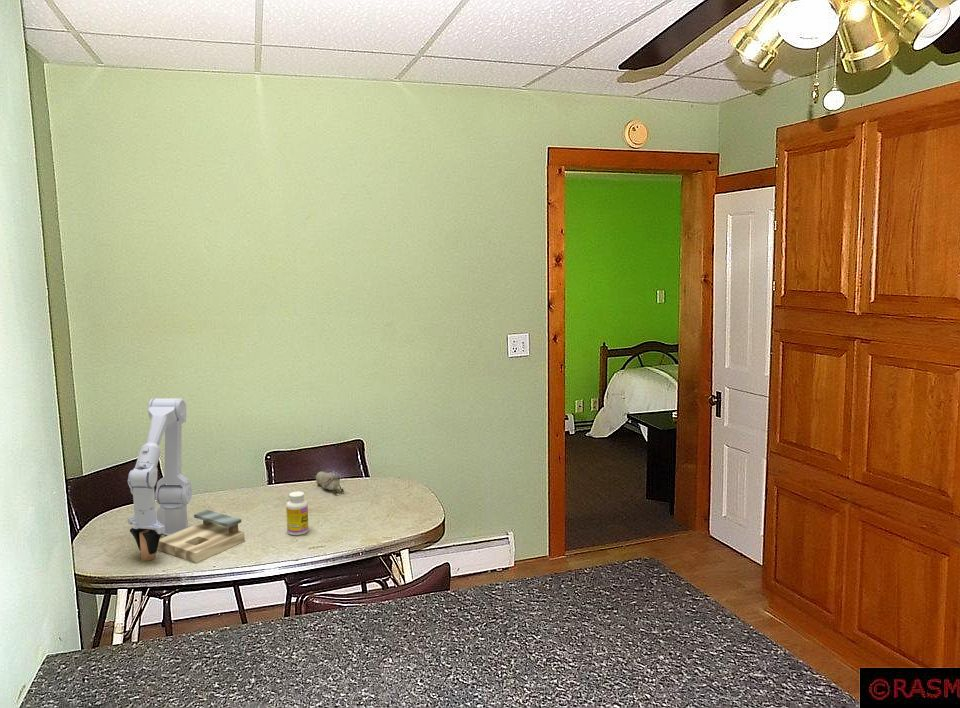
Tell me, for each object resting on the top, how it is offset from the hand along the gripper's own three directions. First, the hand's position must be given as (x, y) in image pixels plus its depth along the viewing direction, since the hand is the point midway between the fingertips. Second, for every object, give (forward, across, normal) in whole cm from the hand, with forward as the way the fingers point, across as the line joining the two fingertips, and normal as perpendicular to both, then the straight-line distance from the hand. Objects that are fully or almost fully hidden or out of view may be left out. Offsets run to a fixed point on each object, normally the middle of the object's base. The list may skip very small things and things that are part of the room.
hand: (148, 551), depth 219 cm
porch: (+2, +6, +14) cm, 15 cm away
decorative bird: (+2, +5, +72) cm, 72 cm away
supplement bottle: (+2, +24, +37) cm, 44 cm away
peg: (+2, 0, 0) cm, 2 cm away
